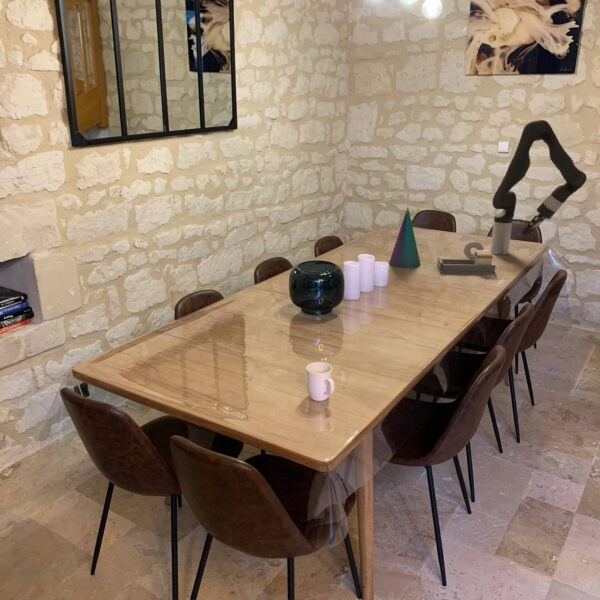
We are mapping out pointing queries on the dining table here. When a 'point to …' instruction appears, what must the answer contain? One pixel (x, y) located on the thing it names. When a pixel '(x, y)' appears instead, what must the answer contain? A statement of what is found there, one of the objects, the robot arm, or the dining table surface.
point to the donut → (471, 245)
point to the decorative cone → (405, 246)
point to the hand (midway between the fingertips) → (525, 233)
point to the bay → (463, 267)
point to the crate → (483, 257)
